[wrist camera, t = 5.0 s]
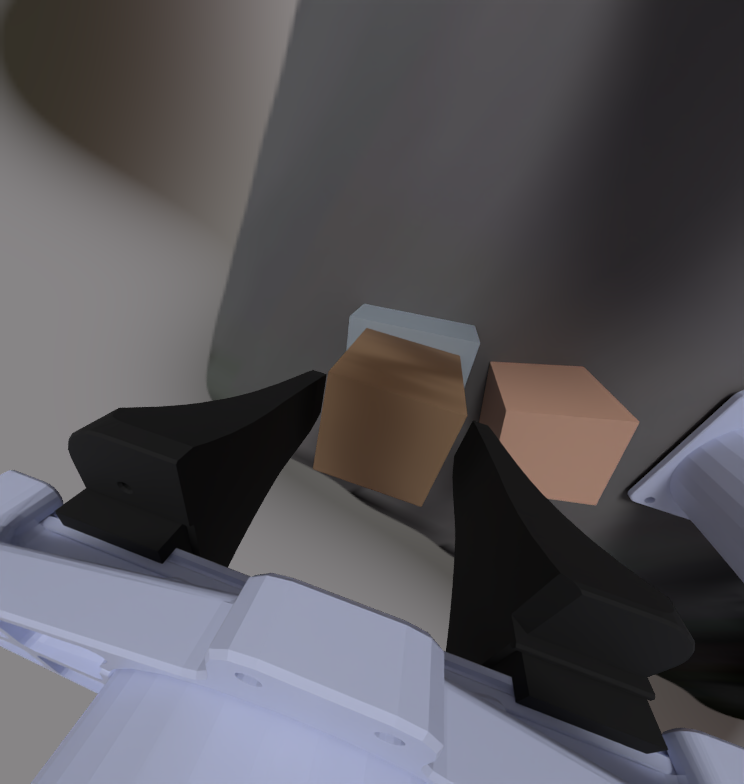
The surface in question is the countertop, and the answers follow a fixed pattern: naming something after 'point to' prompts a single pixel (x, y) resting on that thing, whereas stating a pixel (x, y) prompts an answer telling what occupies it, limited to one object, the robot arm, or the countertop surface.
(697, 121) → the countertop surface
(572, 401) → the terracotta block
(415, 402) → the walnut block
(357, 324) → the plinth block
